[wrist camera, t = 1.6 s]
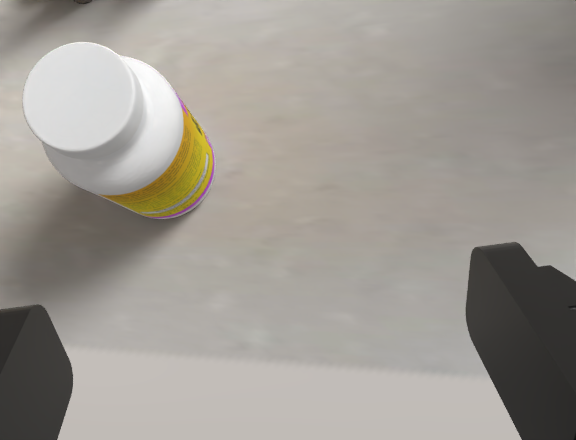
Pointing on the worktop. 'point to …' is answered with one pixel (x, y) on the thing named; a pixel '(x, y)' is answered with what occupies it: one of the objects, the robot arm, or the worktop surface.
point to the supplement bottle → (118, 130)
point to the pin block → (82, 1)
